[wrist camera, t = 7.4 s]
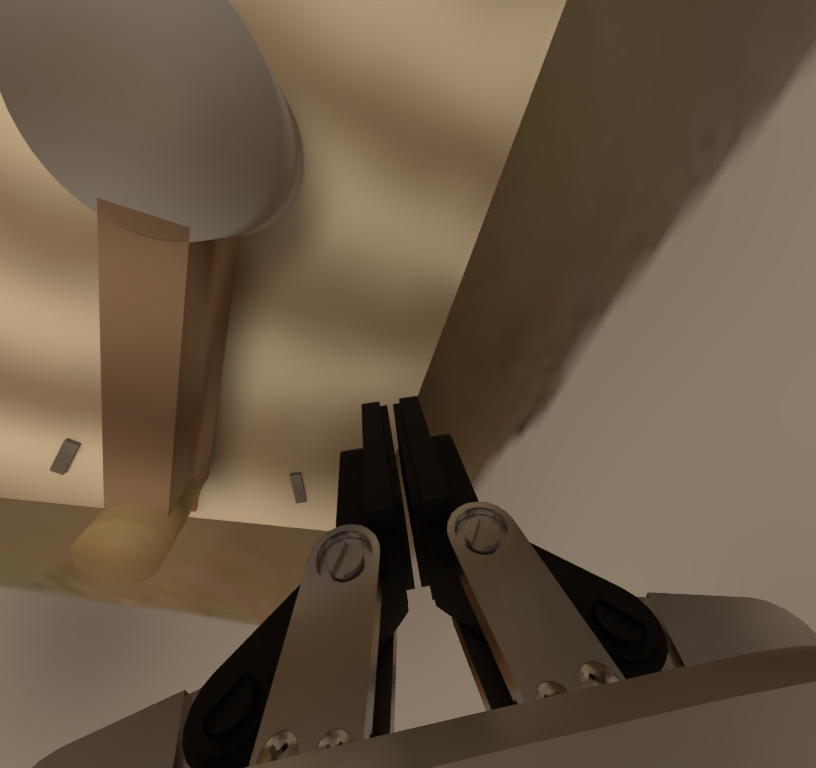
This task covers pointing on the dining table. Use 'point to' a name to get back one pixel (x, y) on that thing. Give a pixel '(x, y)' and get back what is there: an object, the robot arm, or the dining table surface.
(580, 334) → the dining table surface
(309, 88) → the dial board
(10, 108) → the lever
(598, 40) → the dining table surface
